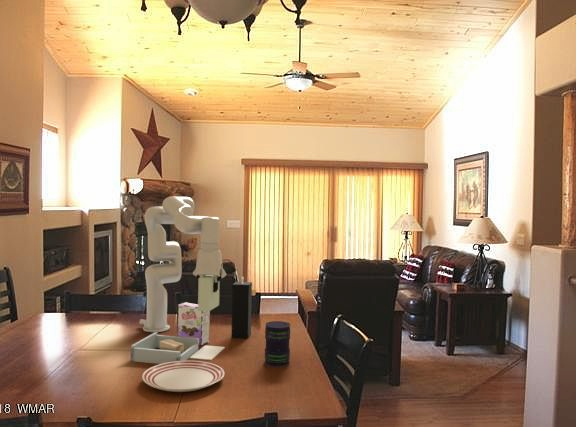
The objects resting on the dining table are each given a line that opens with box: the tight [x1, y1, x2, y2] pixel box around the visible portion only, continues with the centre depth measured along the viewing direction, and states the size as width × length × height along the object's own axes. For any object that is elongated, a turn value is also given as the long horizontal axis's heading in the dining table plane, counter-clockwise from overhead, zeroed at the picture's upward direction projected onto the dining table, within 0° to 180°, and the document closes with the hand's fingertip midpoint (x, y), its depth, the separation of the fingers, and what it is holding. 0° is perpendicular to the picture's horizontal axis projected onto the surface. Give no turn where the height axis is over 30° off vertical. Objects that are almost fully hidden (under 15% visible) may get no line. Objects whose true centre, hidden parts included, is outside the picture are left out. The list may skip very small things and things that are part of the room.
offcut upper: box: [159, 339, 185, 353], centre depth 176 cm, size 4×10×3 cm, turn 51°
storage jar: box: [264, 320, 291, 368], centre depth 171 cm, size 10×10×15 cm
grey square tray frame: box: [130, 332, 200, 365], centre depth 177 cm, size 20×19×6 cm
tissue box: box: [231, 276, 253, 339], centre depth 206 cm, size 8×8×28 cm
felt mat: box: [189, 344, 225, 361], centre depth 181 cm, size 9×16×1 cm, turn 169°
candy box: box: [177, 301, 211, 346], centre depth 196 cm, size 14×6×16 cm, turn 62°
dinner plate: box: [141, 360, 225, 393], centre depth 151 cm, size 27×27×3 cm
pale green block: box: [197, 274, 221, 312], centre depth 181 cm, size 4×12×13 cm, turn 169°
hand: (209, 291), depth 181 cm, fingers closed on pale green block, 4 cm apart
